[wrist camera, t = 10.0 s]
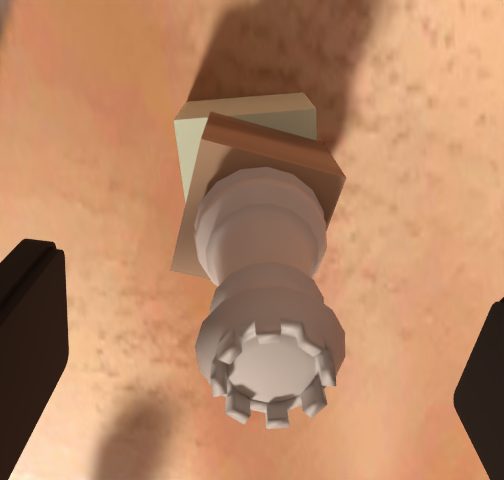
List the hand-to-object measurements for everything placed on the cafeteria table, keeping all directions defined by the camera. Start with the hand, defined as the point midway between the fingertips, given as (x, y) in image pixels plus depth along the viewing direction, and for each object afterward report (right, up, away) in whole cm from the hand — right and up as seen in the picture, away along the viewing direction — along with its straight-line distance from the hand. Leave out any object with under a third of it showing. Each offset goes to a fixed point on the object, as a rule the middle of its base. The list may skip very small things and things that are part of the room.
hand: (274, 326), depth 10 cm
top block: (-1, +4, +11) cm, 12 cm away
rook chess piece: (0, +3, +6) cm, 7 cm away
